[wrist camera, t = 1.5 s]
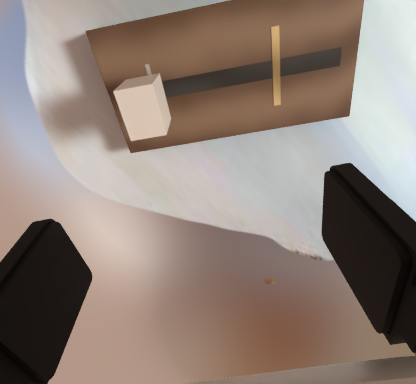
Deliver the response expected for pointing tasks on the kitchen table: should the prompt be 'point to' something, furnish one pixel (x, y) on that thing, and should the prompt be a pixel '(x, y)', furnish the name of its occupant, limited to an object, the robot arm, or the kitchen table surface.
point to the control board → (237, 65)
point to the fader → (143, 107)
